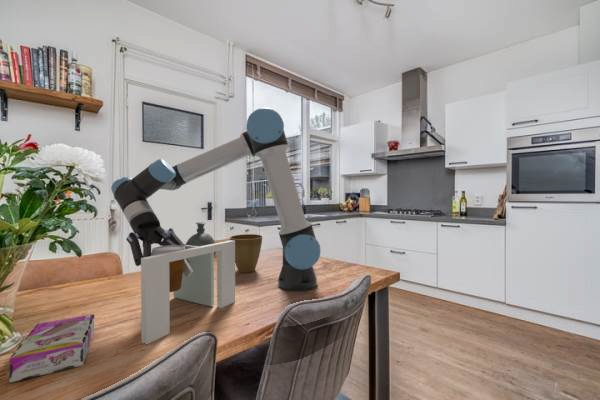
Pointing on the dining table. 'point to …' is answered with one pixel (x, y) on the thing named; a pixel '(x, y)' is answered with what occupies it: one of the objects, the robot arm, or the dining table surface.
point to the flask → (200, 237)
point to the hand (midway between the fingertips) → (176, 278)
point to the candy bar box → (52, 348)
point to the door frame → (157, 285)
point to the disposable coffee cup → (172, 265)
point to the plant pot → (247, 251)
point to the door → (198, 280)
